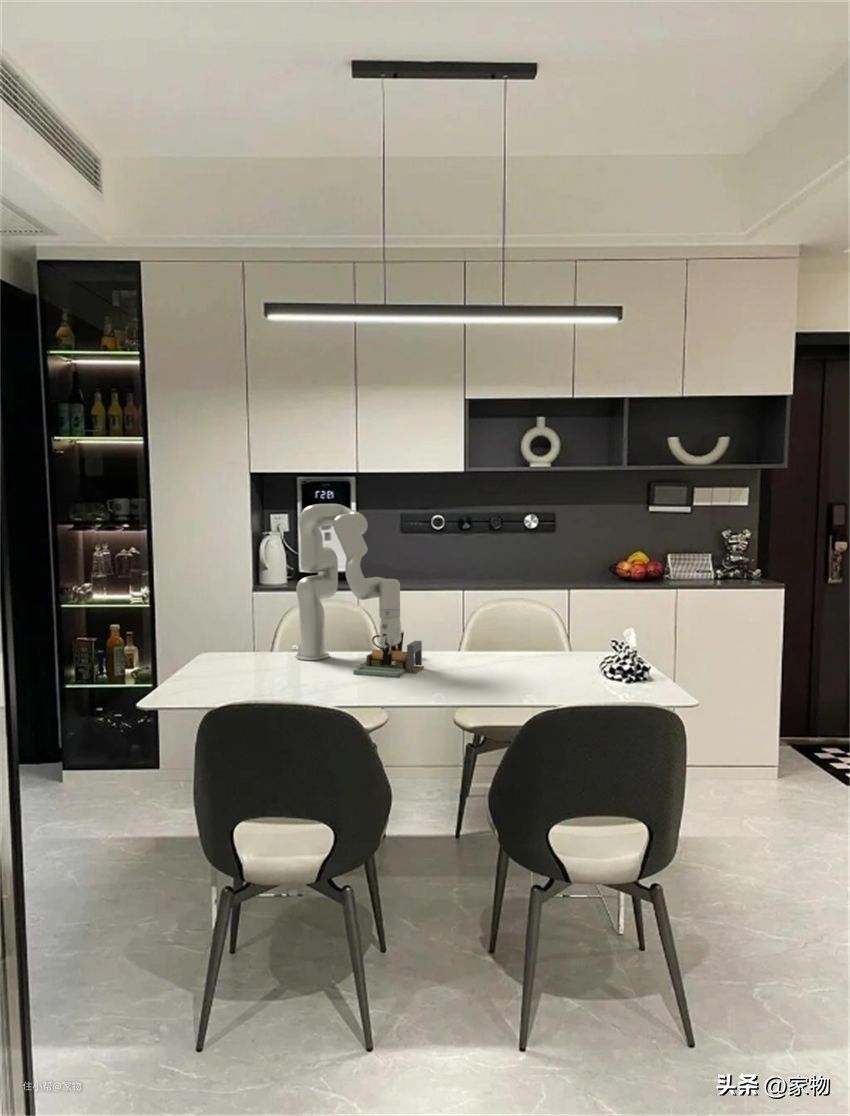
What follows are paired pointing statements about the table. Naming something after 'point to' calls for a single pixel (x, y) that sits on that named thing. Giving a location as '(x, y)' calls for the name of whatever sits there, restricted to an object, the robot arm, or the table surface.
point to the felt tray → (379, 671)
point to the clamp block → (397, 665)
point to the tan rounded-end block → (395, 654)
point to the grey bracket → (411, 649)
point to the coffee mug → (388, 644)
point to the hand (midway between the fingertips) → (390, 662)
